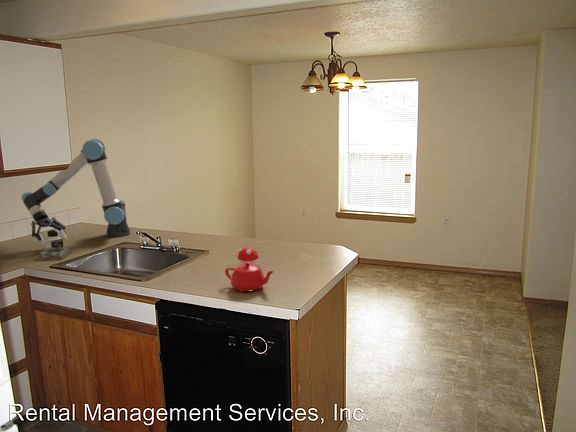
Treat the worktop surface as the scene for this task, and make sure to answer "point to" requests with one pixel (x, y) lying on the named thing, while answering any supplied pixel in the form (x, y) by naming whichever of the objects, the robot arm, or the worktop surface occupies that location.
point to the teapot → (247, 277)
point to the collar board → (54, 254)
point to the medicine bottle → (54, 240)
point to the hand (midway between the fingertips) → (55, 241)
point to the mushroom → (247, 255)
